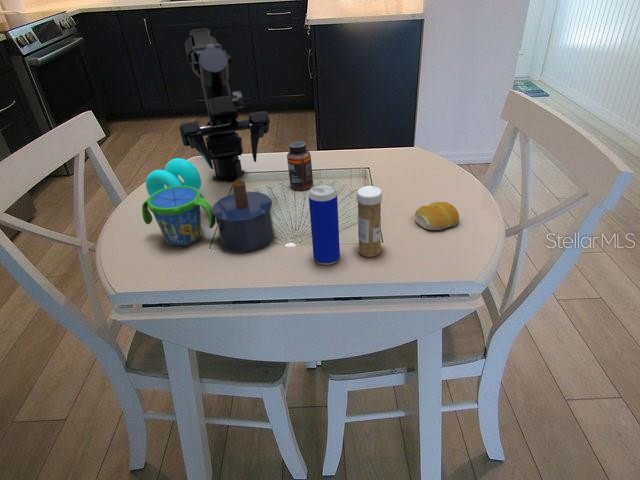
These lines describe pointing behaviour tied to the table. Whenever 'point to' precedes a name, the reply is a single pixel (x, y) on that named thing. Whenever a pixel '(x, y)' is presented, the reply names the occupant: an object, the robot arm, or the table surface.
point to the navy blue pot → (246, 234)
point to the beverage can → (324, 223)
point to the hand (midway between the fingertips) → (234, 164)
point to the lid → (241, 205)
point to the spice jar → (369, 220)
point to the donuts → (173, 176)
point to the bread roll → (437, 216)
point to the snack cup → (177, 213)
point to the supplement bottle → (299, 166)
